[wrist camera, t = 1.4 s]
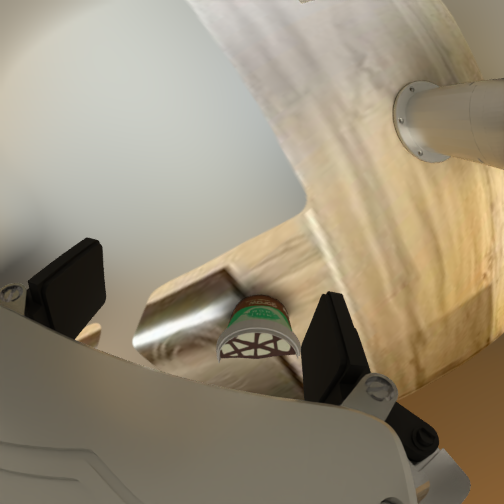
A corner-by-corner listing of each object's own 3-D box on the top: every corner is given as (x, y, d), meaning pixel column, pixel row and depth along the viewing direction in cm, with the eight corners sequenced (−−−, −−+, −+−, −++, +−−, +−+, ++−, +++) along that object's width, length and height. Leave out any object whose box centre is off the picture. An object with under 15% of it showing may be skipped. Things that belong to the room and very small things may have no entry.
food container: (295, 285, 42) (301, 325, 33) (297, 316, 45) (302, 358, 36) (217, 291, 44) (205, 330, 35) (224, 321, 46) (215, 362, 37)
